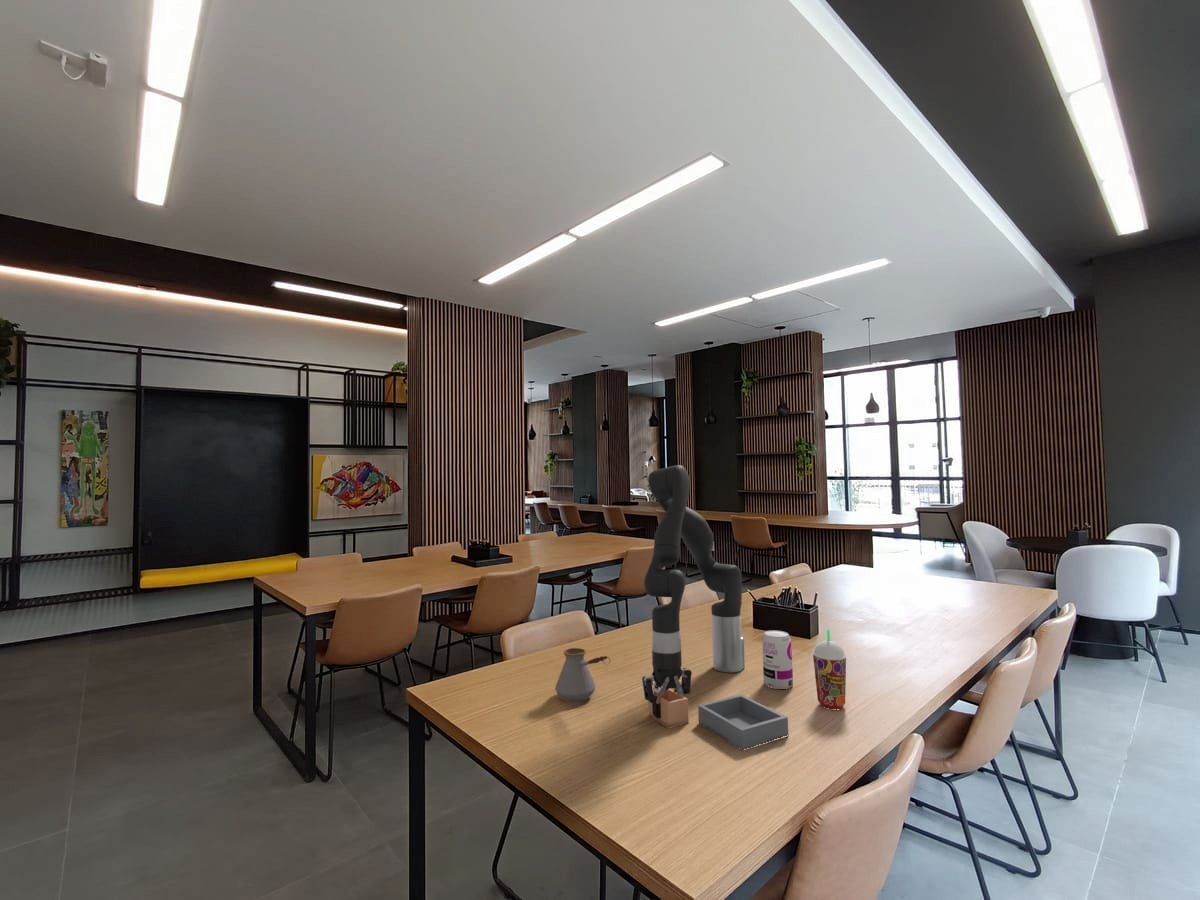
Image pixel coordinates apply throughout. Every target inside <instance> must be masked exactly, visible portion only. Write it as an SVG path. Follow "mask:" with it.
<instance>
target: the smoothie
mask: <svg viewBox="0 0 1200 900" xmlns="http://www.w3.org/2000/svg"><path fill="white" fill-rule="evenodd" d="M826 635H827V637H826V639H823V640H821V641H819V642H818V643H817V644H816V646H815V647H814V650H813V651H812V656H813V657H812V658H813V668H814V677H815V685H816V694H817V698H816V699H817V701H818V702H819V705H820V704H821V705H820V707H822V706H823V707H825V708H829V709H836V710H835V711H838V710H837V709H841V710H842V708H843V709H844V705H845V704H846V690H847V689H846V685H847V684H846V682H847V681H846V679H847V674H846V673H847V653H845V651H844V649H843V648H842V646H841V645H840V644H839V643H838V642H836V641H834V640H831V635H830V629H826ZM823 707H822V708H823ZM825 708H824V709H825Z"/></svg>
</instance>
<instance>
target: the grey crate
mask: <svg viewBox="0 0 1200 900" xmlns="http://www.w3.org/2000/svg"><path fill="white" fill-rule="evenodd" d="M697 707H698V709H697V711H698V712H697V713H698V725H700V726H702V727H703V726H704V727H703V728H704V729H706V728H707V729H706V730H708V729H709V730H708V731H710V732H711V731H712V733H713V732H714V733H715V735H716V734H717V735H716V736H717V737H719V736H720V737H719V738H721V737H722V738H723V740H724V739H725V740H724V741H726V742H727V741H728V742H727V743H729V742H730V743H731V745H732V744H733V745H732V746H734V745H735V746H736V747H735V746H734V747H735V748H737V747H738V748H737V749H739V748H740V749H742V750H744V749H747V748H751V747H754V746H756V745H759V744H763V743H766V742H769V741H772V740H774V739H777V738H781V737H783V736H787V735H788V736H789V717H788V716H787V715H784V714H782V713H780V712H778V711H776V710H775V709H774V710H773V709H772V708H770V707H768V706H765V705H764V704H761V703H759V702H758V701H756V700H754V699H752V698H750V697H747V696H745V695H744V694H738V695H734V696H730V697H726V698H721V699H717V700H714V701H710V702H706V703H702V704H698V705H697ZM714 733H713V734H714ZM722 738H721V739H722ZM730 743H729V744H730ZM754 748H755V747H754ZM740 749H739V750H740ZM751 749H752V748H751ZM742 750H741V751H742Z"/></svg>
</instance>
